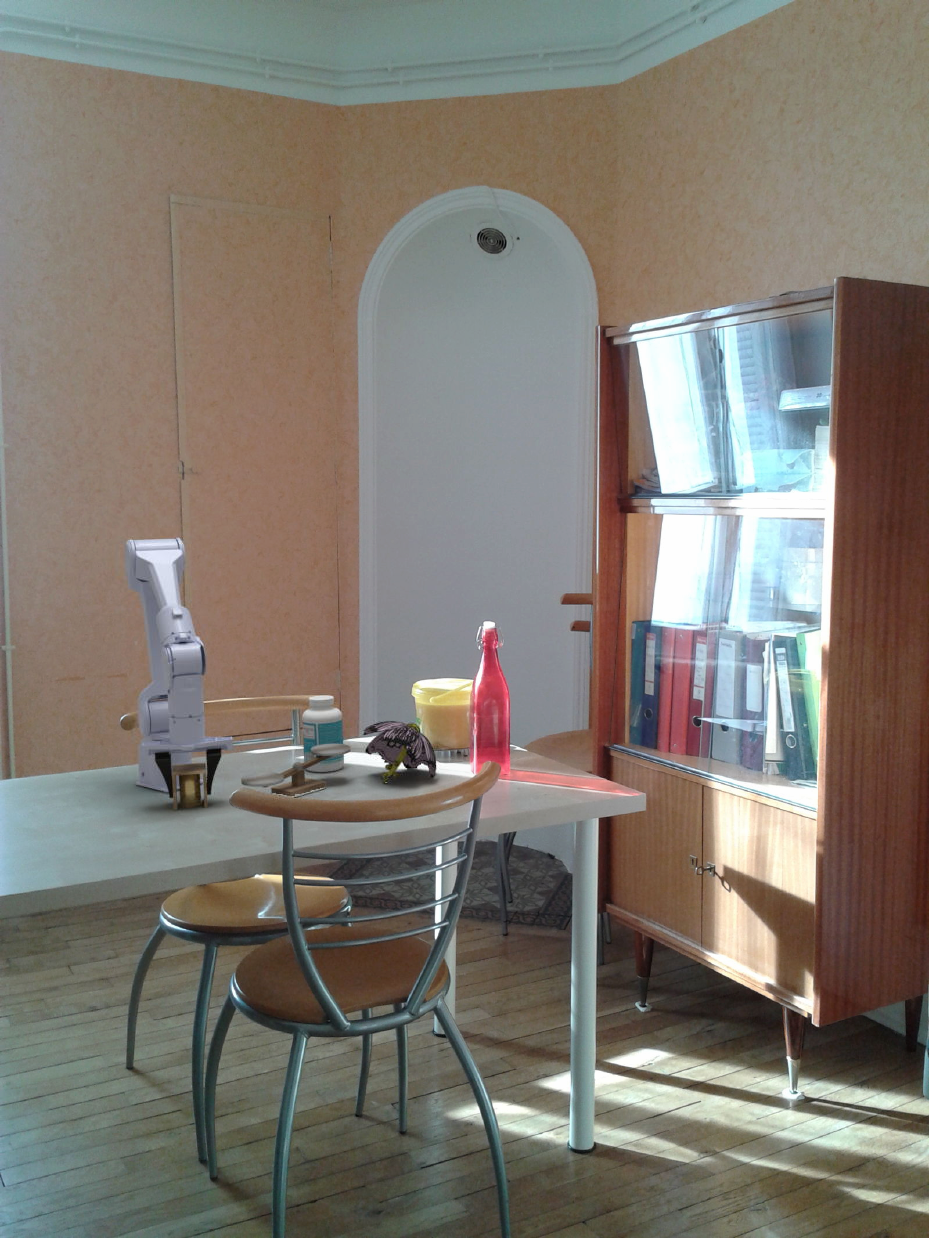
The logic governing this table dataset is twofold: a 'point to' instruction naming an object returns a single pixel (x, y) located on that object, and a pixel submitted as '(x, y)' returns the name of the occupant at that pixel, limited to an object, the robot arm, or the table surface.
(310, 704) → the pill bottle
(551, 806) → the table surface
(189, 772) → the small wooden stool
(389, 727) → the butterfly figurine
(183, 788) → the cylinder
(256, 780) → the balance
